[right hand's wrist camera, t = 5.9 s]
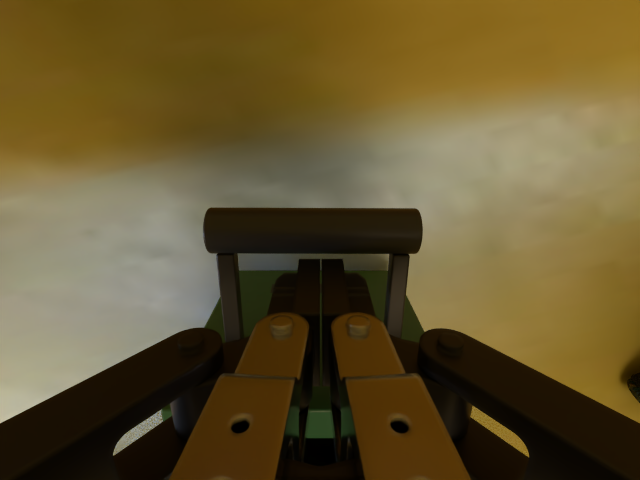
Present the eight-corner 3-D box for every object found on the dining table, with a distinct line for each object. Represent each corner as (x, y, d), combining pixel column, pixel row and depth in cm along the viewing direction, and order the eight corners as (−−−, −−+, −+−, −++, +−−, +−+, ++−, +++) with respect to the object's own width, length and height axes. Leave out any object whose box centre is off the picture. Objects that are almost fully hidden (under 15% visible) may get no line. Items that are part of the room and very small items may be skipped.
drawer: (225, 173, 18) (125, 240, 9) (403, 174, 18) (496, 241, 9) (251, 468, 25) (212, 677, 16) (376, 468, 25) (412, 675, 16)
